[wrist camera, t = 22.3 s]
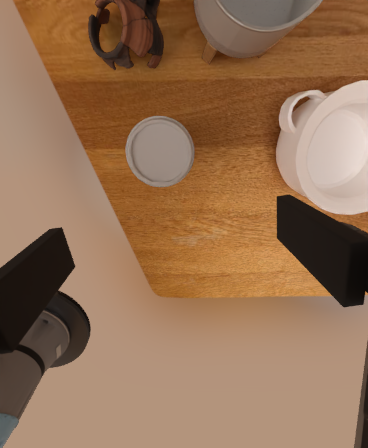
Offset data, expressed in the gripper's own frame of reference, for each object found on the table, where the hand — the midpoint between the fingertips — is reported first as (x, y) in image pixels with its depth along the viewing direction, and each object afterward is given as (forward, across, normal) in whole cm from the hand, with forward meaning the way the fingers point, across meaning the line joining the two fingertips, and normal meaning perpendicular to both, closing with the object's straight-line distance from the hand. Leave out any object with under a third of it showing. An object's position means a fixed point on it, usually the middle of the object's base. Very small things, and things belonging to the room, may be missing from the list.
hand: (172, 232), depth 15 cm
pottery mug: (+32, -3, +20) cm, 38 cm away
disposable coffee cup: (+33, -1, +3) cm, 33 cm away
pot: (+32, +26, 0) cm, 41 cm away
